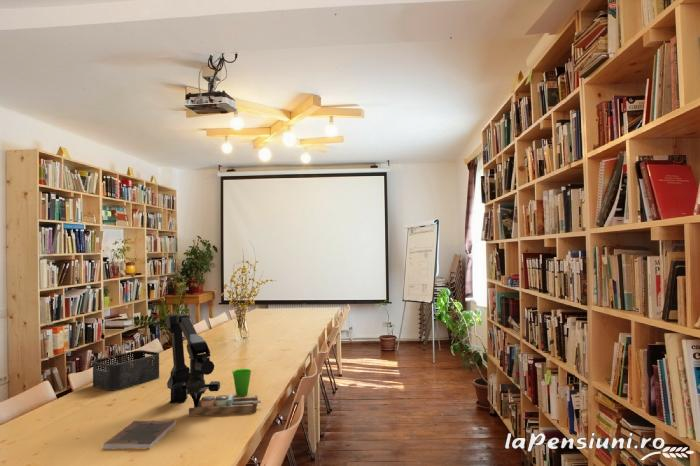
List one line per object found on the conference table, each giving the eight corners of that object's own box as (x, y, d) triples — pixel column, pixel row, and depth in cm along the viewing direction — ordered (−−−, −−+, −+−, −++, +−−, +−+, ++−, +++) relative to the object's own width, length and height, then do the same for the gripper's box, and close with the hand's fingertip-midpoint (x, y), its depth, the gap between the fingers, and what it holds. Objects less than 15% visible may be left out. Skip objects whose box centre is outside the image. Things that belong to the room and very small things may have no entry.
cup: (232, 398, 209) (232, 374, 210) (231, 392, 218) (231, 369, 218) (252, 396, 212) (252, 372, 212) (251, 390, 220) (251, 368, 221)
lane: (188, 416, 187) (188, 407, 187) (194, 407, 198) (194, 398, 198) (255, 412, 190) (255, 403, 191) (257, 403, 202) (257, 395, 202)
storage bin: (112, 392, 222) (112, 364, 222) (89, 386, 231) (89, 360, 232) (162, 377, 247) (162, 352, 247) (139, 373, 256) (139, 349, 257)
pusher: (228, 412, 190) (228, 400, 191) (230, 405, 199) (230, 394, 199) (260, 410, 192) (260, 398, 193) (261, 403, 200) (261, 392, 201)
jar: (199, 413, 190) (199, 400, 190) (202, 408, 196) (202, 395, 196) (214, 412, 191) (214, 399, 191) (216, 407, 197) (216, 395, 197)
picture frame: (150, 450, 156) (175, 426, 177) (150, 443, 156) (175, 420, 177) (103, 450, 156) (134, 426, 178) (103, 443, 156) (134, 420, 178)
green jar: (214, 412, 191) (214, 399, 191) (216, 407, 196) (216, 395, 197) (228, 411, 192) (228, 398, 192) (229, 407, 197) (229, 394, 198)
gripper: (169, 376, 184) (168, 415, 183) (216, 374, 187) (215, 412, 186) (176, 369, 195) (175, 405, 194) (220, 367, 198) (220, 404, 197)
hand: (196, 407), depth 193 cm, fingers closed
